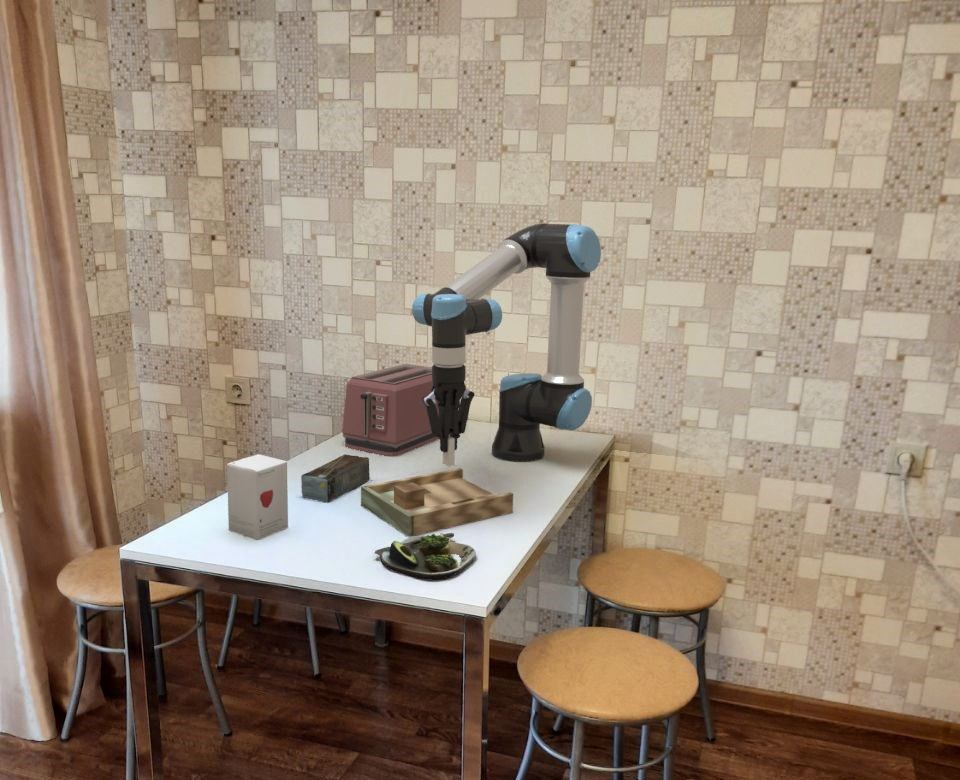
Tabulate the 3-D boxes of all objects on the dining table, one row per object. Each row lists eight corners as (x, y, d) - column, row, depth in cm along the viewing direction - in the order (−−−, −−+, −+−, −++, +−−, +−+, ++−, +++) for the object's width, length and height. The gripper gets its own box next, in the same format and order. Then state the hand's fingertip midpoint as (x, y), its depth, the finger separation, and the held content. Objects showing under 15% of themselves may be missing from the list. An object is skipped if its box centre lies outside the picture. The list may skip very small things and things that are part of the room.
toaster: (335, 448, 231) (335, 378, 227) (404, 424, 260) (404, 361, 256) (390, 460, 222) (390, 387, 218) (454, 433, 251) (456, 369, 247)
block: (412, 499, 185) (413, 482, 184) (424, 505, 181) (424, 488, 180) (393, 502, 182) (393, 486, 182) (404, 509, 178) (405, 492, 178)
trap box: (459, 485, 203) (460, 468, 202) (512, 512, 186) (513, 493, 185) (360, 505, 187) (360, 486, 186) (408, 536, 170) (408, 516, 169)
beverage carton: (299, 498, 191) (299, 472, 190) (344, 476, 208) (344, 451, 207) (327, 504, 188) (327, 477, 187) (371, 481, 205) (371, 456, 204)
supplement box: (257, 541, 166) (255, 471, 162) (227, 531, 170) (224, 463, 167) (289, 527, 173) (288, 460, 170) (260, 518, 178) (258, 452, 175)
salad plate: (420, 533, 173) (420, 512, 172) (493, 551, 165) (494, 530, 164) (364, 565, 157) (364, 543, 156) (442, 588, 148) (443, 564, 147)
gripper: (463, 358, 187) (462, 455, 193) (415, 364, 180) (415, 465, 186) (482, 363, 181) (481, 463, 187) (432, 370, 174) (433, 474, 180)
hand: (448, 464), depth 186 cm, fingers closed
